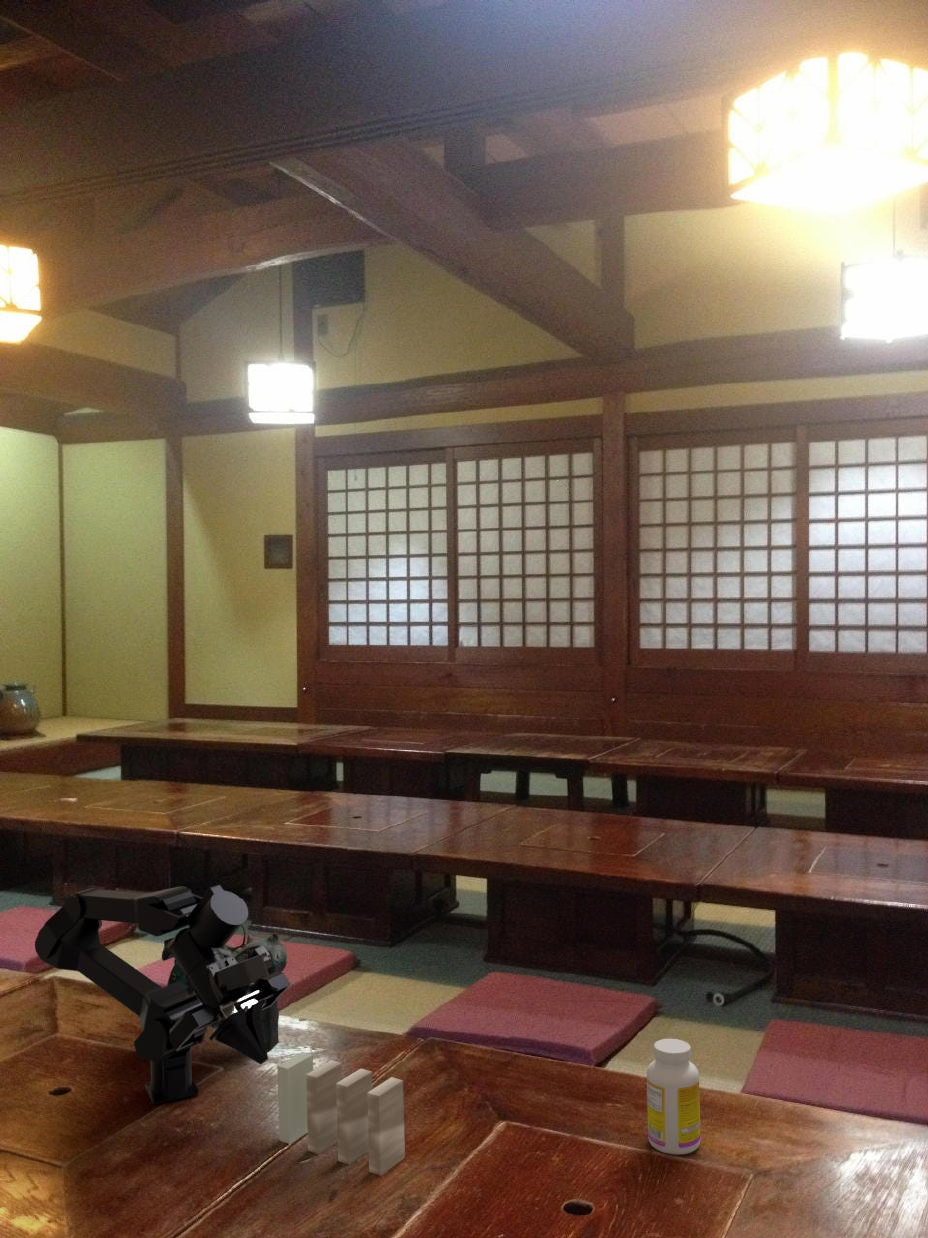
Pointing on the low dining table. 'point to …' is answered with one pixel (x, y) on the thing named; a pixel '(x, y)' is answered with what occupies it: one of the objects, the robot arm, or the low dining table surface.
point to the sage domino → (293, 1096)
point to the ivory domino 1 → (322, 1106)
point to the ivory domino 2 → (353, 1115)
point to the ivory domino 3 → (386, 1126)
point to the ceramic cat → (279, 963)
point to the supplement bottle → (673, 1099)
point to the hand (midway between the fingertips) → (264, 1061)
